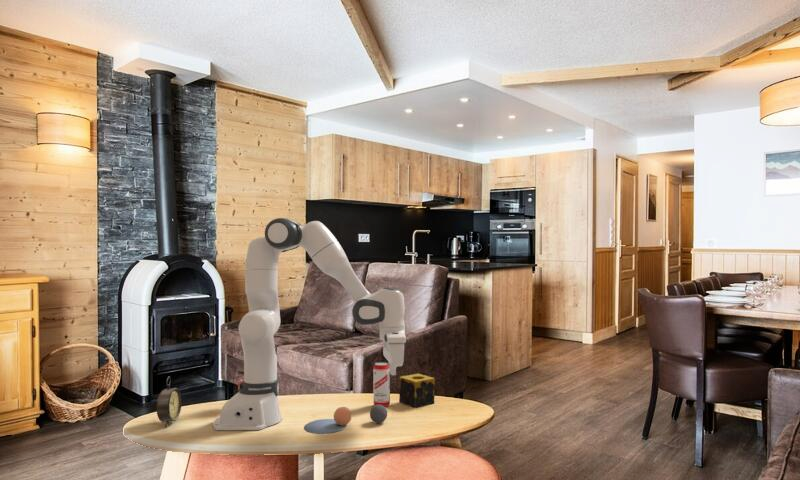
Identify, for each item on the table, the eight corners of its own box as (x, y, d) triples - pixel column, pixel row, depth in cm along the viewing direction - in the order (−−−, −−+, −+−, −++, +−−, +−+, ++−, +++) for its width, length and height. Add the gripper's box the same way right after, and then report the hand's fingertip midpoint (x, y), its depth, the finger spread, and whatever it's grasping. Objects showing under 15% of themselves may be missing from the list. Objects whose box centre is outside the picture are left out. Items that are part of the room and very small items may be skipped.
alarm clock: (169, 429, 164) (170, 379, 165) (153, 429, 164) (153, 380, 164) (182, 418, 175) (182, 372, 176) (166, 419, 175) (167, 372, 175)
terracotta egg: (355, 421, 165) (339, 431, 163) (353, 416, 170) (338, 425, 169) (346, 406, 164) (330, 416, 163) (345, 401, 170) (330, 410, 169)
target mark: (304, 435, 157) (304, 434, 157) (304, 421, 171) (304, 420, 171) (348, 431, 160) (348, 431, 160) (344, 418, 174) (344, 417, 174)
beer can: (389, 408, 185) (389, 365, 186) (372, 408, 185) (372, 365, 186) (390, 403, 191) (389, 361, 192) (374, 403, 192) (373, 362, 192)
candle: (398, 402, 193) (398, 376, 193) (418, 398, 199) (418, 373, 199) (414, 408, 185) (414, 381, 185) (435, 403, 191) (434, 377, 191)
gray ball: (392, 413, 167) (381, 429, 166) (388, 408, 173) (378, 423, 172) (378, 404, 166) (367, 419, 165) (375, 399, 172) (365, 413, 171)
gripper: (378, 330, 181) (379, 368, 180) (388, 339, 161) (388, 381, 160) (395, 329, 182) (396, 367, 181) (407, 338, 162) (407, 380, 161)
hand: (392, 374), depth 171 cm, fingers closed
